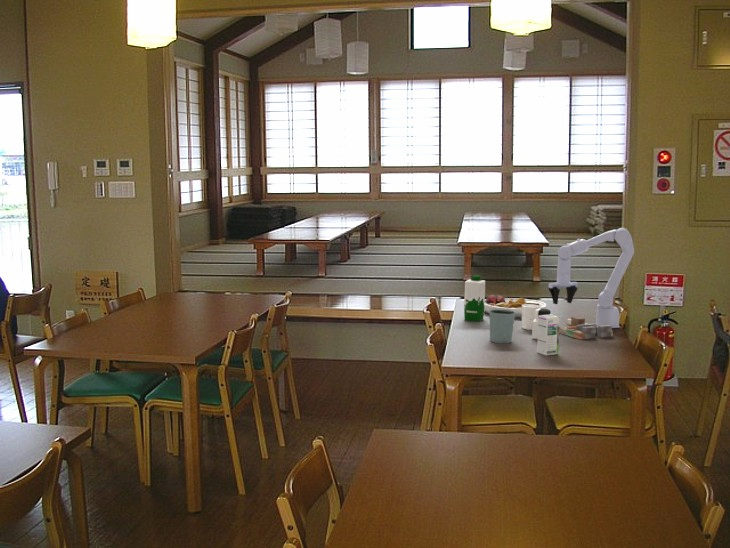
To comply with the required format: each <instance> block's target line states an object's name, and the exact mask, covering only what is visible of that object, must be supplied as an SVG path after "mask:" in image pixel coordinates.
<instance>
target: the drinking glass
mask: <svg viewBox="0 0 730 548" xmlns="http://www.w3.org/2000/svg"><path fill="white" fill-rule="evenodd" d="M488 314H489V341H490V342H492V343H495V344H496V343H498V344H508V343H512V339H513V338H512V337H513V331H514V323H515V319H516V318H515V312H514V311H510V310H498V309H497V310H490V311H489V313H488Z"/></svg>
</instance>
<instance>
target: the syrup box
mask: <svg viewBox="0 0 730 548" xmlns="http://www.w3.org/2000/svg"><path fill="white" fill-rule="evenodd" d="M559 325H560V316H558V315H555V314H551V313H550V315H539V316H538V339H537V342H536V343H537V346H536V347H537V348H536V352H537V353H538V354H540V355H542V356H543V355H544V356H552V355H559V346H560V345H559V343H560V342H559V339H560V338H559V335H560V333H559Z"/></svg>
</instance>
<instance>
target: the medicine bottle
mask: <svg viewBox="0 0 730 548" xmlns="http://www.w3.org/2000/svg"><path fill="white" fill-rule="evenodd" d="M550 314H551V310H550V309H548V308H546V309H544V308H539V309H536V310H535V320H534V321H533V325H532V331H531V334H532V335H531V339H532V340H533V339H534V340H538V316H539V315H550Z"/></svg>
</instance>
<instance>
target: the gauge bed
mask: <svg viewBox="0 0 730 548" xmlns="http://www.w3.org/2000/svg"><path fill="white" fill-rule="evenodd" d="M585 324H588V323H587V322H585ZM566 325H568V326H571V318H567V319H566ZM568 326H563V325H560V324H559V334H562V335H565V336H569V337H571V338H575V339H577V340H589V339H590V340H591V339H596V336H597V338H602V339H603V338H610V337H613V332H614V330H612V329H613V328H612V326H611V325H599V326H597V333H596V334H597V335H596V334H595V330H596V327H593V326H587V327H582V330H581V331H578V330H574V329H567V327H568Z"/></svg>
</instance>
